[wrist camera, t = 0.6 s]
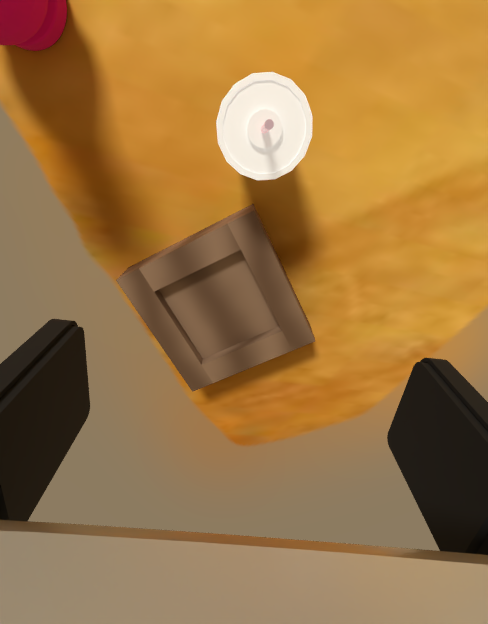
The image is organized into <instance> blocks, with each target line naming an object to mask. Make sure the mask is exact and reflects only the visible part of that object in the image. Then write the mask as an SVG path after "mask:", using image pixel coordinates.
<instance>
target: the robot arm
mask: <svg viewBox="0 0 488 624" xmlns="http://www.w3.org/2000/svg"><path fill="white" fill-rule="evenodd" d="M89 410H90V400H89V387H88V375H87V364H86V350H85V338H84V330H83V328H82V327H78V325H77V323H76V322H75V321H68V320H59V319H51V320H50V321H48V322H47V323H46V324H45V325H44V326H43V327H42V328H41V329H39V330H38V331H37V332H36V333H35V334H34V335H33V336H32V337H31V338H29V339H28V340H27V341H26V342H25V343H24V344H22V345H21V346H20V347H19V348H18V349H17V350H16V351H15V352H13V353H12V354H11V355H10V356H9V357H8V358H7V359H6V360H4V361H3V362H2V363H1V364H0V624H488V402H487V401H486V400H485V399H484V398H483V397H482V396H481V395H480V394H479V393H478V392H477V391H476V390H475V389H474V387H472V385H471V384H470V383H469V382H468V381H467V380H466V379H465V378H464V377H463V376H462V375H461V374H460V373H459V372H458V371H457V370H456V369H455V368H454V367H453V366H452V365H451V364H450V363H449V362H448V361H447V360H442V359H432V358H424V359H422V360H421V361H420V362H417V363H416V364H415V365H414V367H413V370H412V372H411V375H410V377H409V380H408V383H407V385H406V388H405V391H404V393H403V396H402V398H401V401H400V403H399V406H398V408H397V411H396V414H395V416H394V419H393V421H392V424H391V427H390V429H389V432H388V437H387V438H388V445H389V447H390V449H391V451H392V453H393V455H394V457H395V459H396V461H397V464H398V466H399V468H400V470H401V472H402V474H403V476H404V478H405V480H406V482H407V484H408V486H409V488H410V490H411V492H412V494H413V496H414V498H415V500H416V502H417V504H418V507H419V509H420V511H421V512H422V515H423V516H424V519H425V521H426V523H427V525H428V527H429V529H430V531H431V533H432V535H433V537H434V539H435V541H436V543H437V545H438V547H439V549H440V551H432V550H420V549H408V548H396V547H382V546H371V545H359V544H358V545H357V544H346V543H332V542H319V541H306V540H293V539H280V538H266V537H252V536H240V535H226V534H213V533H199V532H185V531H170V530H156V529H142V528H127V527H111V526H98V525H84V524H68V523H49V522H47V523H46V522H29V521H28V519H29V517H30V516H31V514H32V512H33V511H34V509H35V507H36V505H37V504H38V502H39V500H40V498H41V497H42V495H43V493H44V492H45V490H46V488H47V486H48V485H49V483H50V481H51V480H52V478H53V476H54V474H55V473H56V471H57V469H58V467H59V466H60V464H61V462H62V461H63V459H64V457H65V455H66V454H67V452H68V450H69V449H70V447H71V445H72V443H73V442H74V440H75V438H76V436H77V434H78V433H79V431H80V429H81V428H82V426H83V424H84V423H85V421H86V419H87V417H88V414H89Z"/></svg>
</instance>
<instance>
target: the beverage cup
mask: <svg viewBox="0 0 488 624" xmlns="http://www.w3.org/2000/svg"><path fill="white" fill-rule="evenodd" d="M216 125H217V136H218V144H219V146H220V148H221V150H222V152H223V155H224V157H225V159H226V161H227V162H228V163H229V164H230V165H231V166H232V167H233V168H234V169H235V170H236V171H238V172H239V173H240V174H241V175H244V176H247V177H249V178H252V179H255V180H270V179H276V178H278V177H280V176H282V175H284V174H286V173H288V172H290V171H292V170H293V169H294V167H295V166H296V165H297V164H298V163H299V162H300V161H301V159H302V158H303V157H304V156H305V153H306V151H307V148H308V146H309V143H310V140H311V138H312V113H311V110H310V107H309V104H308V102H307V99H306V96H305V94H304V93H303V92H302V91H301V90H300V89H299V88H298V87H297V85H296V84H295V83H294V82H293V81H292V80H291V79H289V78H286V77H284V76H281V75H279V74H277V73H274V72H264V73H252V74H251V75H249V76H247V77H246V78H244V79H242V80H240V81H239V82H237V83H235V84H234V85H233V87H232V88H231V89H230V91H229V92H228V94H227V95H226V96H225V98H224V99H223V100H222V103H221V106H220V110H219V114H218V117H217V121H216Z"/></svg>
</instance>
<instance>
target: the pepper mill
mask: <svg viewBox="0 0 488 624" xmlns="http://www.w3.org/2000/svg"><path fill="white" fill-rule="evenodd" d="M66 18H67V5H66V0H0V45H16V46H18V47H20V48H23V49H26V50H32V51H38V50H44V49H46V48H48V47H50V46H52V45H53V44H54V43H55V42H56V41H57V40H58V39H59V38H60V36H61V34H62V32H63V30H64V27H65V23H66Z"/></svg>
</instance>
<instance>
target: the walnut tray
mask: <svg viewBox="0 0 488 624" xmlns="http://www.w3.org/2000/svg"><path fill="white" fill-rule="evenodd" d="M116 281H117V282H118V284H119V285H120V287H121V288H122V290H123V291H124V293H125V294H126V295H127V297H128V298H129V300H130V301H131V303H132V304H133V306H134V307H135V309H136V310H137V311H138V313H139V314H140V316H141V317H142V319H143V320H144V322H145V323H146V325H147V326H148V327H149V329H150V330H151V332H152V333H153V335H154V336H155V338H156V339H157V341H158V342H159V343H160V345H161V346H162V348H163V349H164V351H165V352H166V354H167V355H168V357H169V358H170V359H171V361H172V362H173V364H174V365H175V367H176V368H177V370H178V371H179V373H180V374H181V375H182V377H183V378H184V380H185V381H186V383H187V384H188V386H189V387H190V389H191V390H192V391H195V390H198V389H200V388H203V387H205V386H207V385H210V384H212V383H215V382H217V381H220V380H222V379H224V378H227V377H229V376H232V375H234V374H237V373H239V372H242V371H244V370H246V369H249V368H251V367H254V366H256V365H259V364H261V363H263V362H266V361H268V360H271V359H273V358H276V357H278V356H280V355H283V354H285V353H288V352H290V351H293V350H295V349H298V348H300V347H302V346H305V345H307V344H310V343H312V342H315V338H314V335H313V333H312V330H311V327H310V324H309V322H308V320H307V318H306V315H305V313H304V311H303V309H302V307H301V305H300V303H299V300H298V298H297V296H296V294H295V292H294V290H293V288H292V286H291V283H290V281H289V279H288V277H287V275H286V273H285V271H284V268H283V266H282V264H281V262H280V260H279V258H278V256H277V254H276V251H275V249H274V247H273V245H272V243H271V241H270V239H269V236H268V234H267V232H266V230H265V228H264V226H263V224H262V222H261V219H260V217H259V215H258V213H257V211H256V209H255V207H254V204H252V205H250V206H248V207H246V208H244V209H242V210H240V211H238V212H236V213H234V214H232V215H230V216H228V217H227V218H225V219H223V220H221V221H219V222H217V223H215V224H213V225H211V226H209V227H207V228H205V229H203V230H201V231H199V232H197V233H195V234H193V235H191V236H189V237H187V238H185V239H184V240H182V241H180V242H178V243H176V244H174V245H172V246H170V247H168V248H166V249H164V250H162V251H160V252H158V253H156V254H154V255H152V256H150V257H148V258H146V259H144V260H142V261H140V262H139V263H137V264H135V265H133V266H131V267H129V268H128V269H127V270H126V271H125V272H124V273H123V274H122V275H121V276H120V277H119V278H118V279H117V280H116Z"/></svg>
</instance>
